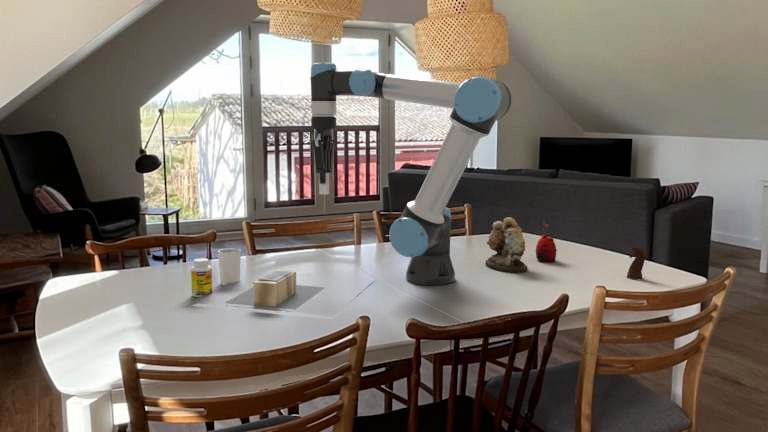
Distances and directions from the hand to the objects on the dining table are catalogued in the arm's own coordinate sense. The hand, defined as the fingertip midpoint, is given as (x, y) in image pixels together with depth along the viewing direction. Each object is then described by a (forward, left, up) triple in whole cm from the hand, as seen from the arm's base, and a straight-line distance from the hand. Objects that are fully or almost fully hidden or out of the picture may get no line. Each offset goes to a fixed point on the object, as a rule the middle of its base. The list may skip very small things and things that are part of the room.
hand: (324, 194), depth 193 cm
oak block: (+4, +20, -23) cm, 30 cm away
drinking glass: (+25, +14, -27) cm, 39 cm away
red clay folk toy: (-66, -46, -27) cm, 85 cm away
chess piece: (-94, -29, -27) cm, 102 cm away
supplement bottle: (+26, +28, -27) cm, 47 cm away
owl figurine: (-53, -32, -27) cm, 67 cm away
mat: (+5, +24, -26) cm, 36 cm away
